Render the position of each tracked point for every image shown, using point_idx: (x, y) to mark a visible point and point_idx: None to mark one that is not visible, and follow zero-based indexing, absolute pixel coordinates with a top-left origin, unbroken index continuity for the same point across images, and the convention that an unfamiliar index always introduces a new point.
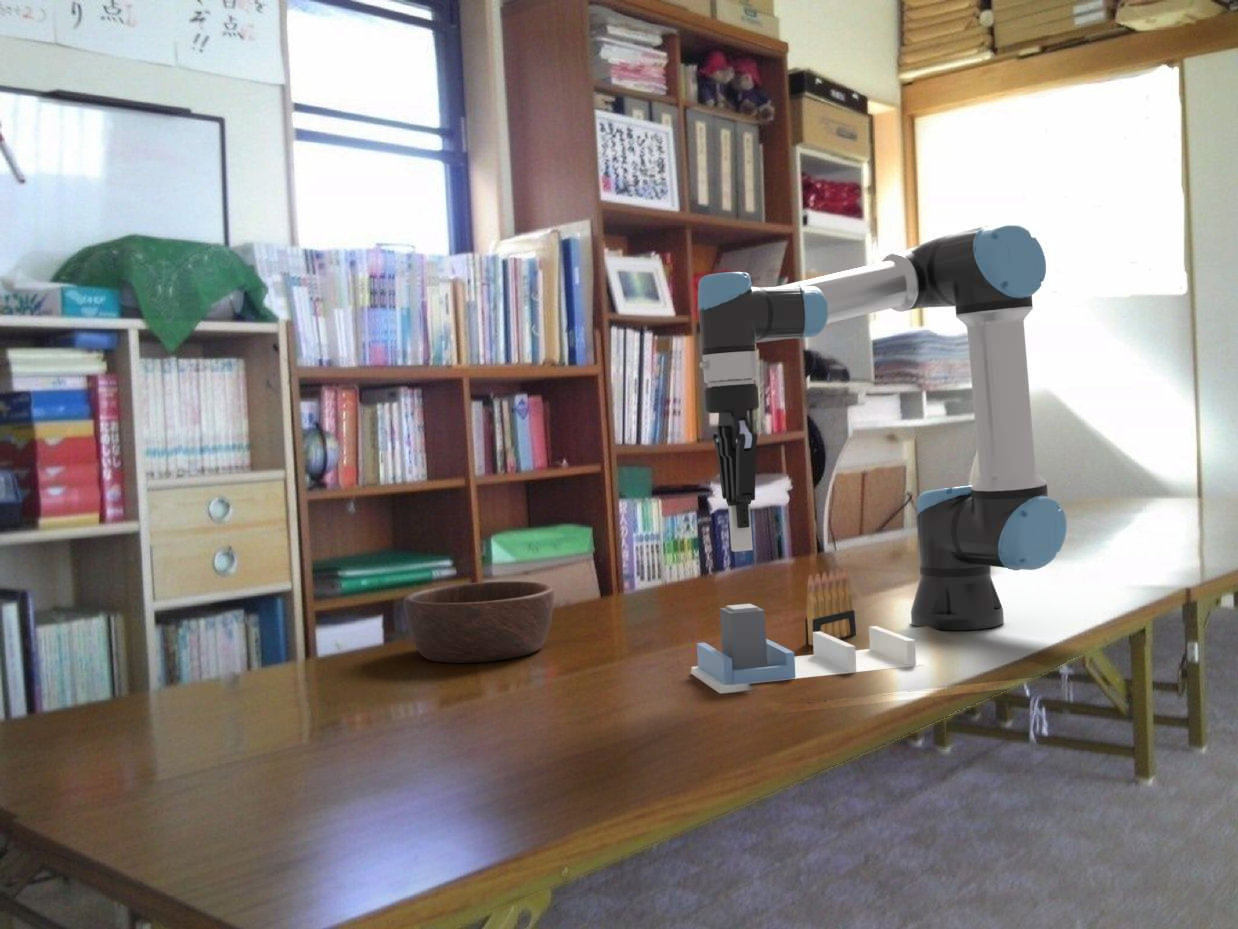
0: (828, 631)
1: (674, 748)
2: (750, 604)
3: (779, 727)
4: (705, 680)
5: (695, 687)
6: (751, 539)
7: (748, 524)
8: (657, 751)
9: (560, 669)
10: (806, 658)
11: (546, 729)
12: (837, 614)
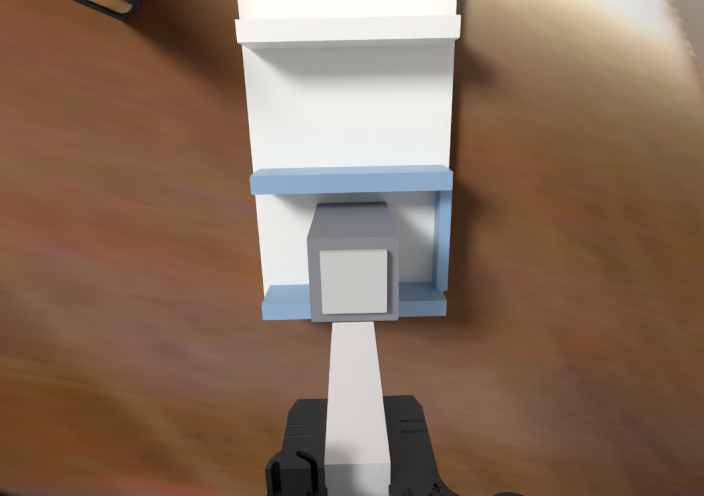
0: None
1: (695, 423)
2: (333, 256)
3: (687, 279)
4: None
5: (374, 322)
6: (375, 345)
7: (420, 408)
8: (695, 442)
9: (148, 475)
10: (276, 77)
11: None
12: None
